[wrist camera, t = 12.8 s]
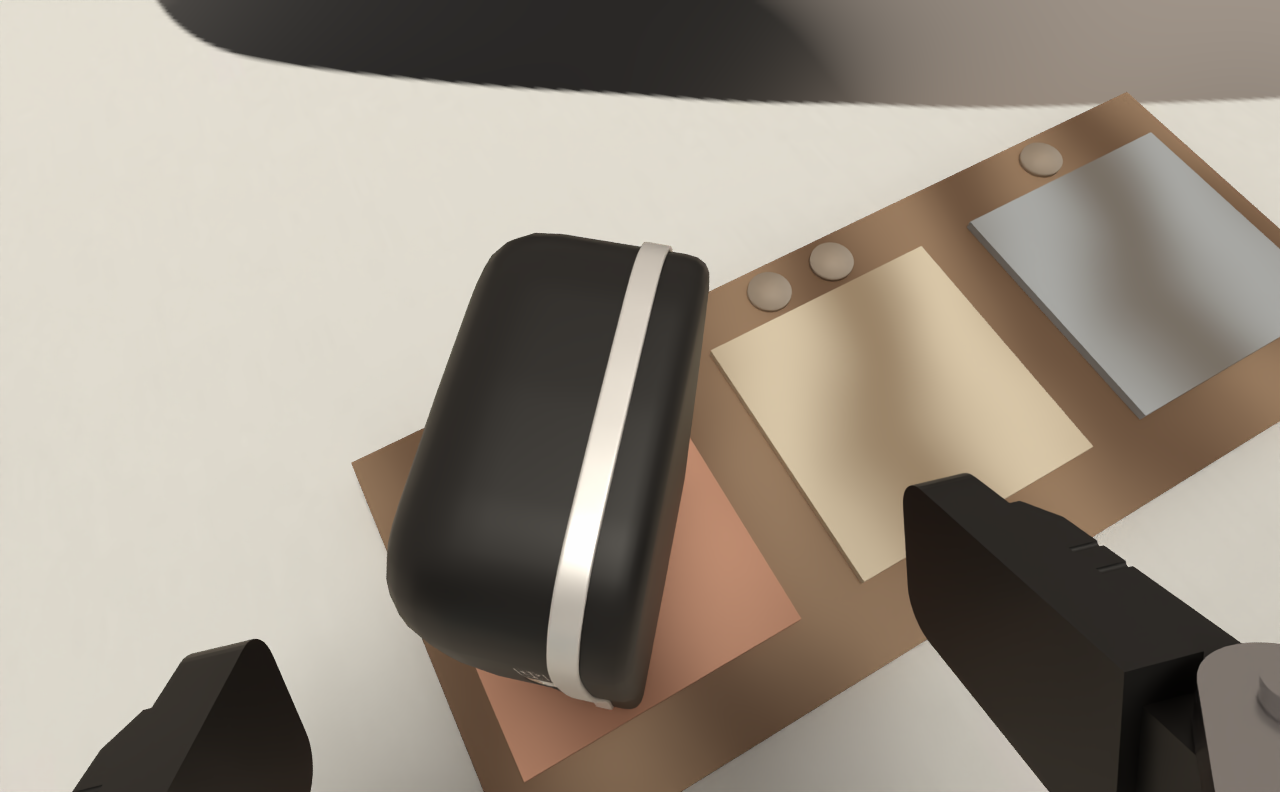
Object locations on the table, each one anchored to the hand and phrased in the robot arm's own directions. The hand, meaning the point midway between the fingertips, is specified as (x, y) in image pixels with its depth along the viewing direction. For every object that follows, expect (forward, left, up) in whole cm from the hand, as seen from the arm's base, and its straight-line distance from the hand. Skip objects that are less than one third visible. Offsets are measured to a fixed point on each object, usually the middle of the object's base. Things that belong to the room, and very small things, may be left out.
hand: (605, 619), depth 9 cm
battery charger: (-1, -3, -11) cm, 11 cm away
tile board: (-11, -3, -12) cm, 16 cm away
